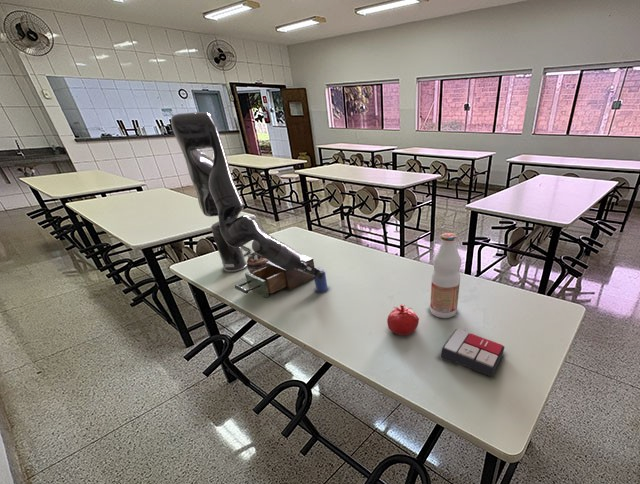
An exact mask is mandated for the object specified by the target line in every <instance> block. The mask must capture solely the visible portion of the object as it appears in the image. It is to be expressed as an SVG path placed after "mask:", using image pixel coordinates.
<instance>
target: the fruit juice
mask: <svg viewBox="0 0 640 484" xmlns="http://www.w3.org/2000/svg"><path fill="white" fill-rule="evenodd" d="M440 241H441V244H440V245H439V248H438V250H437V252H436V253H435V255H434V256H433V259H432V265H433V270H432V274H431V283H430V284H431V285H430V286H431V287H430V305H429V309H430V312H431V314H432V315H433V316H434V317H437V318H440V319H448V318H449V319H450V318H452V317H454V316H455V315H456V314H457V312H458V304H459V295H460V284H461V272H460V269H461V266H462V257H461V255H460V253H459V251H458V247H457V241H458V235H457V234H456V233H454V232H444V233H442V234H441V236H440Z"/></svg>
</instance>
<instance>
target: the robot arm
mask: <svg viewBox="0 0 640 484" xmlns="http://www.w3.org/2000/svg"><path fill="white" fill-rule="evenodd" d="M170 125H171V129H172V132H173V134H174V135H173V136H174V137H175V139H176V141H177V144H178V146H179V148H180V150H181V154H182V155H183V159H184V160H185V164H186V167H187V171H188V174H189V177H190V181H191V182H192V185H193V187H194V190H195V193H196V198H197V201H198V206H199V208H200V211H201V212H202V214H203V215H204V216H206V217H209V218H210V217H211V218H212V217H217V218H218V221H217V222H216V221H215V223H213V224H212V225H211V226H210V229H211V233H212V236H213V239H214V242H215V245H216V248H217V251H218V254H219V258H220V262H221V264H222V267H223V271H225V272H227V273H233V272H234V273H235V272H239V271H242V270H244V269H247V261H246V259H245V257H246V256H248V255H249V254H251V252H252V251H253V252H255V253H257V254H259V255H260V256H262V257H264V258H266V259H268V260H269V261H270V262H272V263H274V264H275V265H277V266H279V267H281V268H283V269H285V270H287V271H292V270H294V269H295V270H298V271H301V272H303V273H305V274H311V275H313V276H315V277H317V278H318V279H322V277H323V274H322V273H320V271H319V270H318V269H316V268H317V267H315V266H314V267H315V268H314V267H313V266H311V265H310V264H307V263H306V262H305V261H303V260H301V259H300V254H301V253H299V252H298V251H297V250H296V249H294V248H293V247H291V246H289V245H288V244H286V243H284V242H282V241H280V240H278V239H277V238H275V237H273V236H272V235H270V234H269V233H268V232H267V231H266V230H265V229H264V227H263V226H262V225H261V224H260V222H259V221H257V219H256V218H254V217H252V216H250V215H241V216H240V214H241V213H242V212H243V210H244V203H243V200H242V197H241V195H240V193H239V191H238V188H237V186H236V184H235V181H234V178H233V175H232V172H231V167H230V164H229V161H228V157H227V154H226V152H225V148H224V143H223V141H222V138H221V135H220V132H219V130H218V127H217V124H216V122H215V120H214V119H213V117H212V115H211V114H210V113H208V112H206V111H196V112H185V113H182V112H181V113H177V114H173V115H172V116H171V117H170ZM204 149H211V150H212V153H213V159H212V158H211V157H210V156H208V155H207V154H205V153H203V152H202V151H200V150H204ZM250 242H251V249H252V251H251V249H250V248H248V247H246V246H244V245H247V244H248V243H250ZM243 248H244V249H246V250H248V251H247V252H246V253H245V254H244V253H243Z"/></svg>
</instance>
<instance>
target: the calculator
mask: <svg viewBox="0 0 640 484" xmlns="http://www.w3.org/2000/svg"><path fill="white" fill-rule="evenodd" d="M504 351H505V346H504V345H503V344H501V343H499V342H496V341H494V340H490V339H487V338H484V337H482V336H479V335H476V334H474V333H469V332H467V331H464V330H462V329H458V328H456V329H455V330H454V331H453V332H452V334H451V335H450V337H449V338H448V339H447V341H446V342H445V343H444V344H443V346H442V347H441V353H440V358H441V359H442V360H445V361H447V362H449V363H452V364H453V363H456V364H459V365H461V366H464V367H466V368H469V369H471V370H474V371H476V372H478V373H481V374H482V375H486V376H488V377H493V375H494V374H495V372H496V370H497V368H498V365H499V364H500V363H499V362H500V361H501V359H502V357H503V355H504Z"/></svg>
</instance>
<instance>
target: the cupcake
mask: <svg viewBox="0 0 640 484" xmlns="http://www.w3.org/2000/svg"><path fill="white" fill-rule="evenodd" d="M268 261H269V260H268V259H266V258H264V257H262V256H260V255H259V254H257V253H255V252H254V251H253V252H250V253H249V254H248V255H247V261H246V265H247V266H246V269H247V270H248V273H250V274H252V275H253V273H252V272H254V271H257V270H259V269H262V268H264V267H266V262H268Z"/></svg>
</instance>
